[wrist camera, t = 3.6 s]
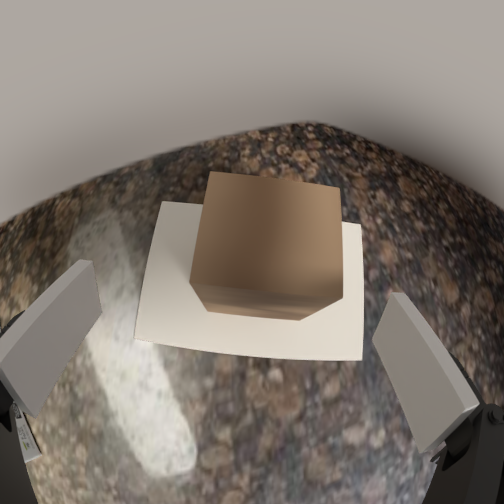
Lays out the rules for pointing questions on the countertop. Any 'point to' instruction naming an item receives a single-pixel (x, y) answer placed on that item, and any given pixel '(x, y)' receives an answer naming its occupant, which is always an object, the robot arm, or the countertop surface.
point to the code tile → (235, 326)
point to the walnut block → (268, 247)
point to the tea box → (25, 435)
